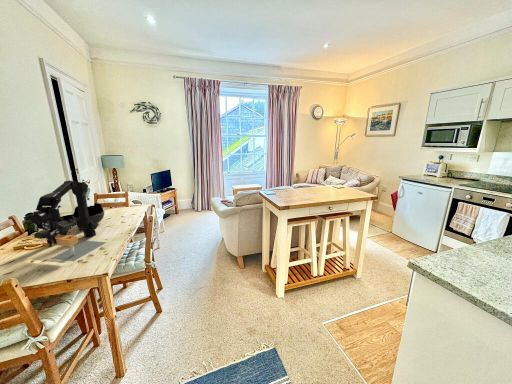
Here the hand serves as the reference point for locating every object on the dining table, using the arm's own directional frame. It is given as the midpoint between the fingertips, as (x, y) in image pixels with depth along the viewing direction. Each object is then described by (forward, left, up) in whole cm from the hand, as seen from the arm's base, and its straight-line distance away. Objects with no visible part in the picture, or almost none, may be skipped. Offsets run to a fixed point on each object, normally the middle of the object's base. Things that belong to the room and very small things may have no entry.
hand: (60, 242), depth 122 cm
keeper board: (+5, +6, -9) cm, 12 cm away
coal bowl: (-26, +43, -10) cm, 51 cm away
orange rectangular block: (+4, 0, -1) cm, 4 cm away
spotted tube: (-20, +12, -10) cm, 25 cm away
